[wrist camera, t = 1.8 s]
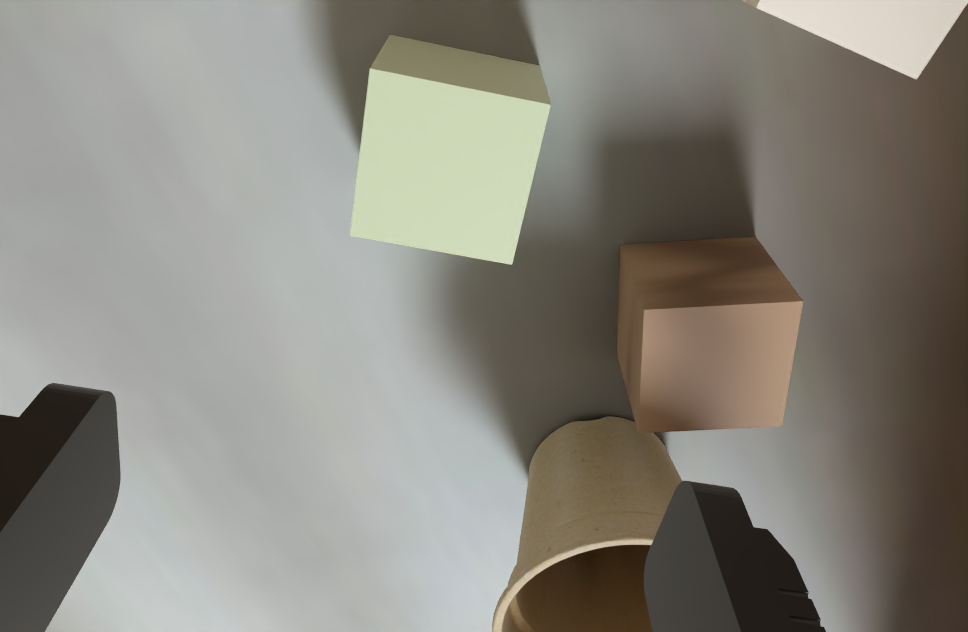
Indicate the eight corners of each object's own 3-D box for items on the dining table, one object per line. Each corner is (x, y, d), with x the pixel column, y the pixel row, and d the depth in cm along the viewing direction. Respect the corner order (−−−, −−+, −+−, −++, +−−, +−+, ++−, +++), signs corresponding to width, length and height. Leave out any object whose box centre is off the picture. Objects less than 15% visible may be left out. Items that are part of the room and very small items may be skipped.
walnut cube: (754, 235, 28) (803, 300, 24) (740, 348, 31) (782, 426, 26) (619, 243, 28) (643, 309, 24) (616, 354, 31) (638, 433, 27)
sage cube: (539, 65, 25) (550, 105, 21) (507, 203, 28) (511, 264, 23) (389, 34, 25) (370, 68, 20) (371, 177, 27) (349, 235, 23)
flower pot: (474, 529, 36) (471, 702, 28) (512, 366, 31) (521, 522, 24) (667, 554, 37) (713, 728, 29) (732, 398, 32) (806, 559, 25)
